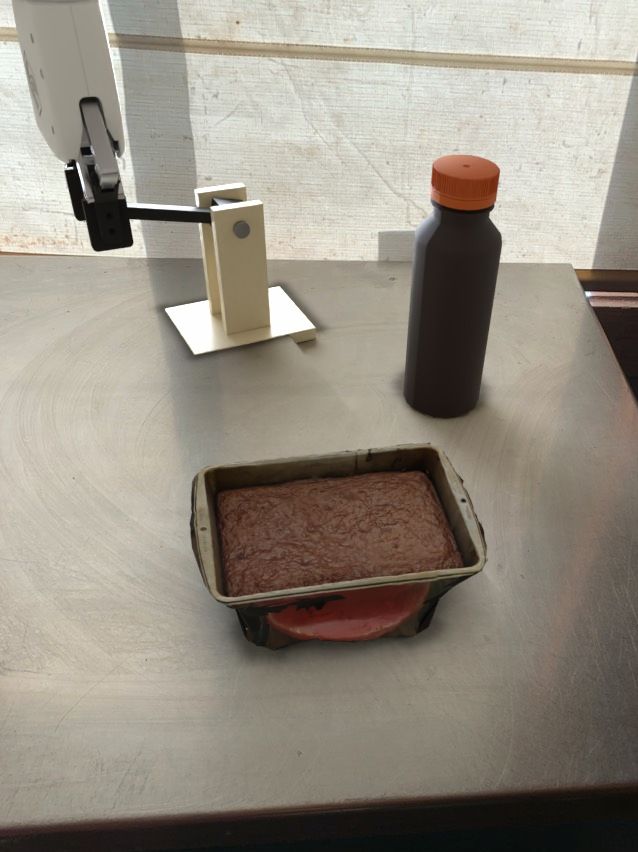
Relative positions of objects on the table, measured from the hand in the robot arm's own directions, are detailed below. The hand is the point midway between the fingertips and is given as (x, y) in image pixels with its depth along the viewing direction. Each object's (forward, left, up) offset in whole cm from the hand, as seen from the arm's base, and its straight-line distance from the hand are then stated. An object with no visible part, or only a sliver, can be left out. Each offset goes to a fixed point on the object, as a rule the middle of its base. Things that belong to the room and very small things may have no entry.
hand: (103, 230), depth 65 cm
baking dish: (+34, +5, -12) cm, 36 cm away
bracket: (0, +11, -12) cm, 16 cm away
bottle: (+18, +23, -12) cm, 31 cm away
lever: (0, +6, -1) cm, 6 cm away
